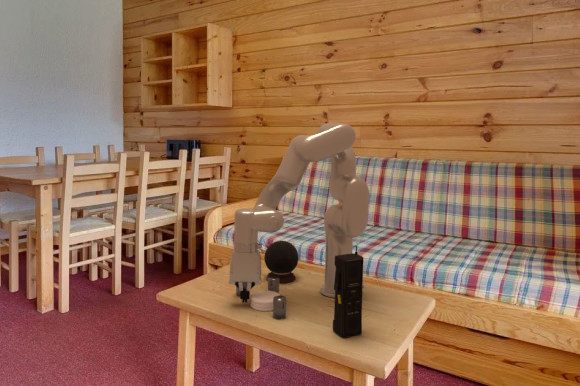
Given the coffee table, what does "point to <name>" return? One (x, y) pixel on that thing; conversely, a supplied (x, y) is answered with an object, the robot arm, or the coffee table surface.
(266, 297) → the coaster
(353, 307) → the portable radio
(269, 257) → the black ball on stand
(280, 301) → the posts
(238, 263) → the robot arm
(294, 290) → the coffee table surface
